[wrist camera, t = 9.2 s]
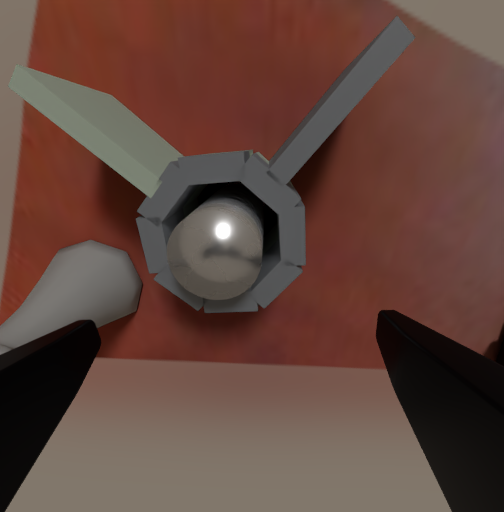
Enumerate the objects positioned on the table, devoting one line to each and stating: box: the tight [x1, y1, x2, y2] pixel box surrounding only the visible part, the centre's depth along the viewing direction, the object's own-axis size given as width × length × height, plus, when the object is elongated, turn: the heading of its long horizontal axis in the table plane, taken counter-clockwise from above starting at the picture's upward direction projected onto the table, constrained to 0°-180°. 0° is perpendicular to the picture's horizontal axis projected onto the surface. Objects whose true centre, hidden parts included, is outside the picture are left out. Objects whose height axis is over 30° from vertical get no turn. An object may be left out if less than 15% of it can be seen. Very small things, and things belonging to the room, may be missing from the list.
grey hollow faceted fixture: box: [136, 16, 415, 313], centre depth 15 cm, size 15×8×7 cm, turn 140°
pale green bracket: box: [8, 64, 294, 256], centre depth 16 cm, size 15×8×7 cm, turn 50°
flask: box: [0, 240, 143, 355], centre depth 18 cm, size 7×7×10 cm
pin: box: [167, 183, 265, 300], centre depth 15 cm, size 4×4×9 cm
